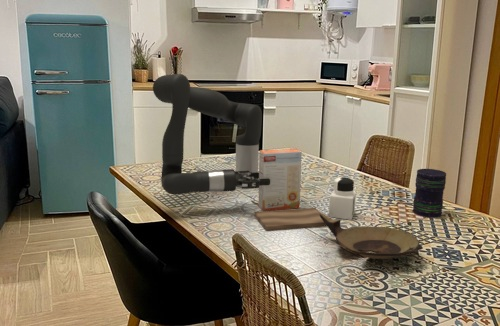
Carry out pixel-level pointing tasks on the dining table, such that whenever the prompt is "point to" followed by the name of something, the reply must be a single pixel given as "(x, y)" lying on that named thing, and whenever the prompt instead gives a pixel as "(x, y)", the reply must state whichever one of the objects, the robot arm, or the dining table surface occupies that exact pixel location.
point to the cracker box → (280, 179)
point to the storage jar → (429, 193)
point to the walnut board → (289, 219)
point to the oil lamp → (373, 240)
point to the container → (342, 199)
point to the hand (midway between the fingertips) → (266, 178)
